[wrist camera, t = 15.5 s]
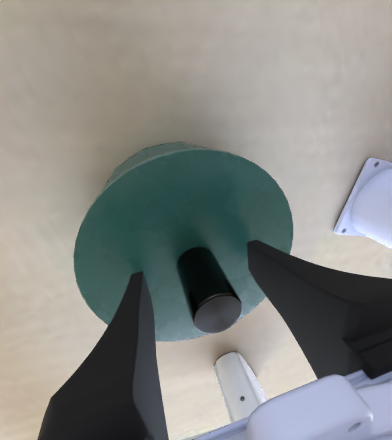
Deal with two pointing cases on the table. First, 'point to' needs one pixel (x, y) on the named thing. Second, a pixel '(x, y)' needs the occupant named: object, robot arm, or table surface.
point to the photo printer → (238, 386)
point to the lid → (182, 239)
